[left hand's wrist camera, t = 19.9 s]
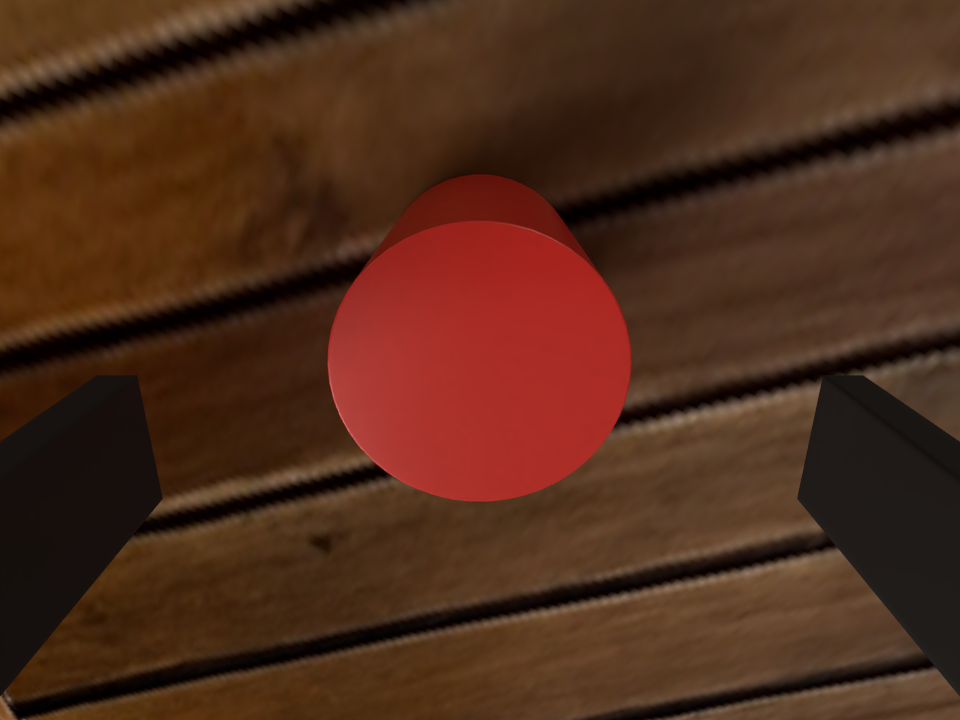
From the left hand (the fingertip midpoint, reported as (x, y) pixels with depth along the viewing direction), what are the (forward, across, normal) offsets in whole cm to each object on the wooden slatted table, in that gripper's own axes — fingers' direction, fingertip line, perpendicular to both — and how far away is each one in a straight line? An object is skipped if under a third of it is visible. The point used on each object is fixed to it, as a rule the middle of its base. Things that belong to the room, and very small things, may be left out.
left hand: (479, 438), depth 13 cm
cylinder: (+12, 0, 0) cm, 12 cm away
